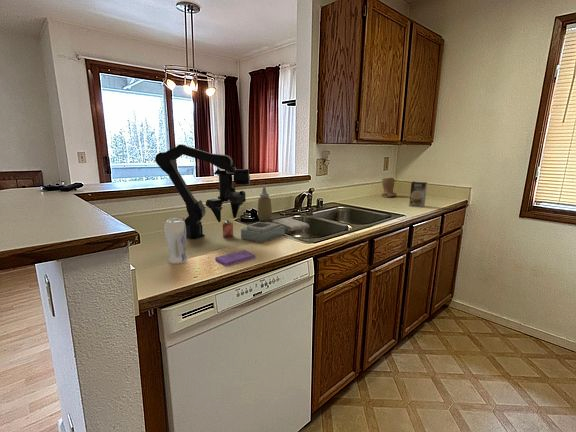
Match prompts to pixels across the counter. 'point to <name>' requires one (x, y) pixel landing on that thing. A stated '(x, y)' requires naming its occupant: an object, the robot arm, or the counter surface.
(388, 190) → the brown boot
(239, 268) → the counter surface
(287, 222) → the washcloth
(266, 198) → the squeeze bottle
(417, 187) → the coffee box
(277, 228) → the grey piece
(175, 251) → the beer glass
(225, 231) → the spout can
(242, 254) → the sponges
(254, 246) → the counter surface
